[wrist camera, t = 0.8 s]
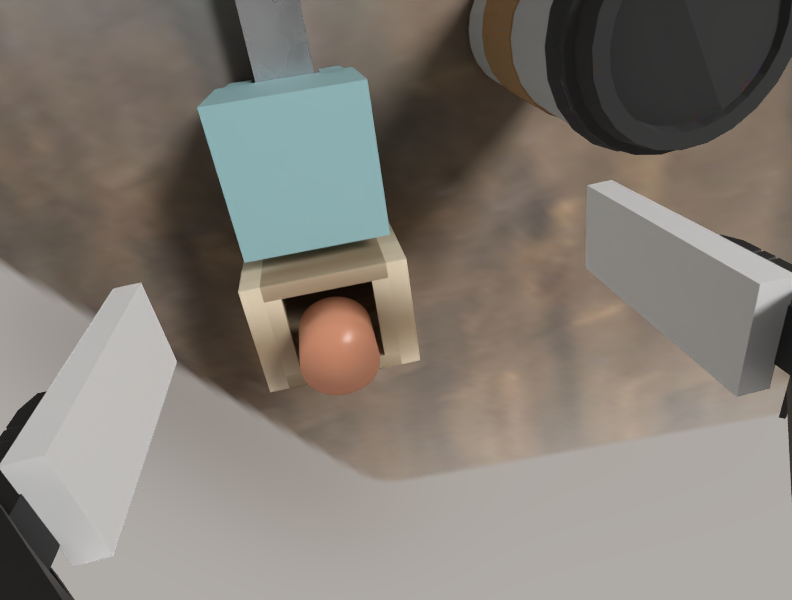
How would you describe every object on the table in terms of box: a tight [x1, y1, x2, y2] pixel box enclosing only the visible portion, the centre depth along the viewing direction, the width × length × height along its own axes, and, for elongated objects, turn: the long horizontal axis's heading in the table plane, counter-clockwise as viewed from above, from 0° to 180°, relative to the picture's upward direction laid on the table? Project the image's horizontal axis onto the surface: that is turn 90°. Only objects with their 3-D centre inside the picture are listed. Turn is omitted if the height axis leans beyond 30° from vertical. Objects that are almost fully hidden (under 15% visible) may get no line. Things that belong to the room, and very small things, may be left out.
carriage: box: [197, 66, 390, 263], centre depth 27 cm, size 7×7×8 cm
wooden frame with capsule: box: [238, 221, 420, 392], centre depth 30 cm, size 6×8×9 cm
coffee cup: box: [469, 0, 792, 155], centre depth 23 cm, size 8×8×15 cm
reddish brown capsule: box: [299, 297, 380, 395], centre depth 25 cm, size 4×4×3 cm
